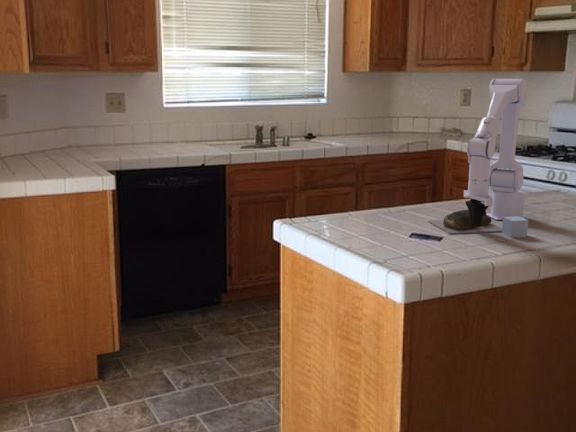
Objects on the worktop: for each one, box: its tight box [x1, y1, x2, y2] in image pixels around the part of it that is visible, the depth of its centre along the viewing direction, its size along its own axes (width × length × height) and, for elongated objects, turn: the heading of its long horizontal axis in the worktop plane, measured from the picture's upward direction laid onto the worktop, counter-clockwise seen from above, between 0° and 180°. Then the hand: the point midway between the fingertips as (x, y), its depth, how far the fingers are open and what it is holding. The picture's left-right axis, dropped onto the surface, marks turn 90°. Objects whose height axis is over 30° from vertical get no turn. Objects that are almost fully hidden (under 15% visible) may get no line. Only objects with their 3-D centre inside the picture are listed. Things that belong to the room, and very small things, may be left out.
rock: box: [443, 209, 492, 230], centre depth 193 cm, size 8×16×4 cm, turn 127°
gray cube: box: [501, 216, 529, 239], centre depth 183 cm, size 5×5×5 cm
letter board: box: [427, 219, 502, 235], centre depth 194 cm, size 18×16×1 cm
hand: (475, 225), depth 188 cm, fingers closed
